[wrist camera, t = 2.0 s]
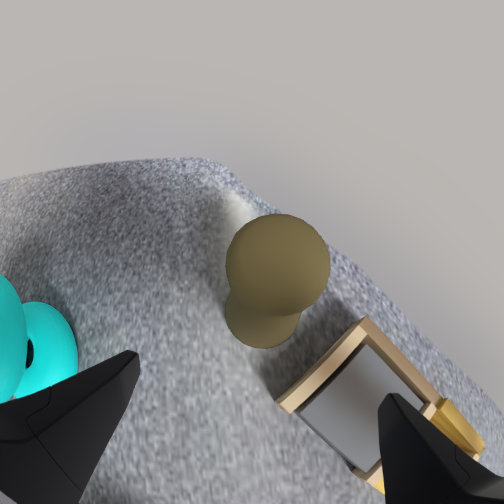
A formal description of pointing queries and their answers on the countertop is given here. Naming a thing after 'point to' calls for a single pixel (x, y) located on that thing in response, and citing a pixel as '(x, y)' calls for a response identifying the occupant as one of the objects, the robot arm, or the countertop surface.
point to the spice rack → (368, 399)
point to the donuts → (44, 342)
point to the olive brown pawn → (273, 278)
